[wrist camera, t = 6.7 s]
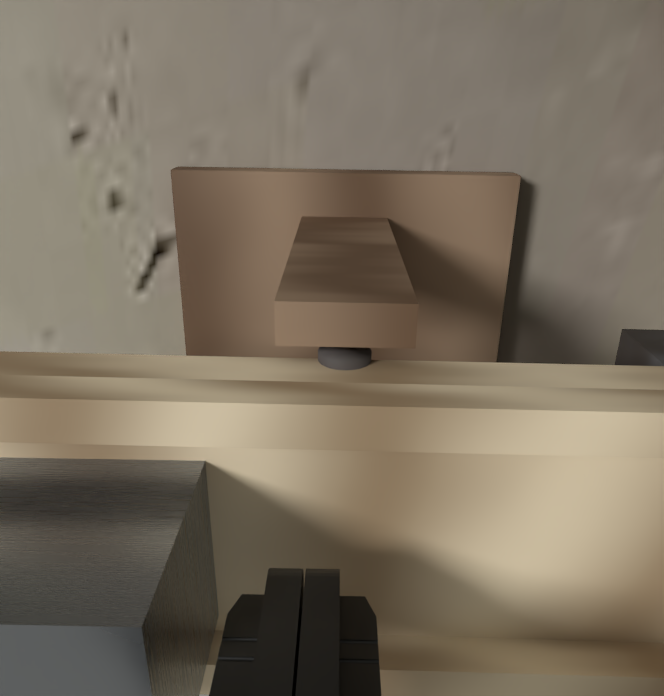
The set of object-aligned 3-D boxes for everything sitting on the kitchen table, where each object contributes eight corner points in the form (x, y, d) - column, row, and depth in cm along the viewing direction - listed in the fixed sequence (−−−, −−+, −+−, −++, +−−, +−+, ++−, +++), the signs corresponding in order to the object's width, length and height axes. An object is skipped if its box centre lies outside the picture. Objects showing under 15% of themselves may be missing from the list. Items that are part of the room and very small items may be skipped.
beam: (-13, 505, 22) (-206, 728, 14) (-69, 277, 18) (-362, 406, 11) (695, 523, 21) (890, 761, 14) (765, 294, 18) (1072, 440, 10)
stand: (203, 491, 27) (127, 711, 17) (177, 166, 22) (46, 224, 12) (472, 496, 27) (544, 721, 17) (513, 172, 22) (653, 235, 12)
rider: (-21, 609, 15) (-160, 804, 11) (-66, 456, 13) (-250, 618, 9) (218, 614, 15) (170, 814, 11) (205, 460, 13) (141, 627, 9)
